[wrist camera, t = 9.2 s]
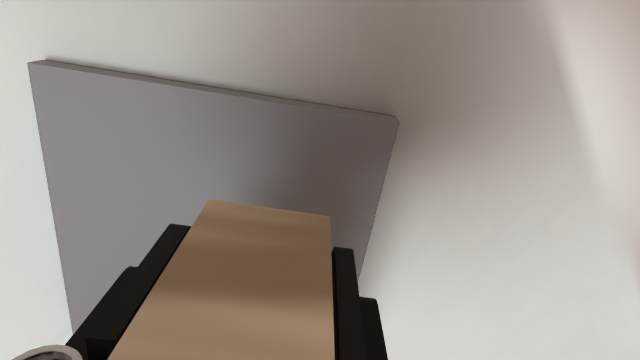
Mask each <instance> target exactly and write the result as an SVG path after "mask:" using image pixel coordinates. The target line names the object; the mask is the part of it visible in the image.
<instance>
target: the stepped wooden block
mask: <svg viewBox="0 0 640 360" xmlns="http://www.w3.org/2000/svg"><path fill="white" fill-rule="evenodd" d="M107 360H335V351H334V320H333V288H332V257H331V226H330V216H324V215H317V214H310V213H303V212H296V211H290V210H283V209H276V208H269V207H262V206H255V205H248V204H241V203H235V202H228V201H221V200H214V199H209V200H208V201H207V203H206V205H205V206H204V208H203V209H202V211H201V213H200V214H199V216H198V217H197V219H196V220H195V222H194V224H193V225H192V227H191V228H190V230H189V231H188V233H187V235H186V236H185V238H184V239H183V241H182V243H181V244H180V246H179V247H178V249H177V250H176V252H175V254H174V255H173V257H172V258H171V260H170V261H169V263H168V265H167V266H166V268H165V269H164V271H163V273H162V274H161V276H160V277H159V279H158V280H157V282H156V284H155V285H154V287H153V288H152V290H151V291H150V293H149V295H148V296H147V298H146V299H145V301H144V303H143V304H142V306H141V307H140V309H139V310H138V312H137V314H136V315H135V317H134V318H133V320H132V322H131V323H130V325H129V326H128V328H127V329H126V331H125V333H124V334H123V336H122V337H121V339H120V340H119V342H118V344H117V345H116V347H115V348H114V350H113V352H112V353H111V355H110V356H109V358H108V359H107Z"/></svg>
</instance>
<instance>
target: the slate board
mask: <svg viewBox="0 0 640 360" xmlns="http://www.w3.org/2000/svg"><path fill="white" fill-rule="evenodd" d="M27 64H28V70H29V76H30V82H31V88H32V94H33V100H34V106H35V112H36V117H37V123H38V129H39V135H40V141H41V147H42V153H43V159H44V165H45V171H46V177H47V183H48V189H49V195H50V201H51V206H52V212H53V218H54V224H55V230H56V236H57V242H58V248H59V254H60V260H61V266H62V272H63V278H64V284H65V290H66V296H67V301H68V307H69V313H70V319H71V325H72V331H73V334H74V333H75V332H76V331H77V329H78V328H79V327H80V325H81V324H82V323H83V322H84V320H85V319H86V318H87V317H88V315H89V314H90V313H91V311H92V310H93V309H94V308H95V306H96V305H97V304H98V303H99V301H100V300H101V299H102V298H103V296H104V295H105V294H106V292H107V291H108V290H109V289H110V287H111V286H112V285H113V284H114V282H115V281H116V280H117V278H118V277H119V276H120V275H121V273H122V272H123V271H124V270H125V269H126V268H127V267H129V266H133V267H138V266H139V264H140V263H141V262H142V260H143V259H144V258H145V256H146V255H147V254H148V252H149V251H150V250H151V248H152V247H153V245H154V244H155V243H156V241H157V240H158V239H159V237H160V236H161V235H162V233H163V232H164V231H165V229H166V228H167V227H168V225H169V224H171V223H172V224H179V225H187V226H191V227H192V225H193V224H194V222H195V220H196V219H197V217H198V216H199V214H200V213H201V211H202V209H203V208H204V206H205V205H206V203H207V201H208V200H209V199H214V200H221V201H228V202H235V203H241V204H248V205H255V206H262V207H269V208H276V209H283V210H290V211H296V212H303V213H310V214H317V215H324V216H330V226H331V251H333V248H334V246H336V247H343V248H350V249H353V251H354V258H355V266H356V274H357V282H358V279H359V276H360V272H361V268H362V264H363V260H364V256H365V252H366V249H367V245H368V241H369V237H370V233H371V229H372V225H373V221H374V218H375V214H376V210H377V206H378V202H379V198H380V194H381V191H382V187H383V183H384V179H385V175H386V171H387V167H388V163H389V160H390V156H391V152H392V148H393V144H394V140H395V136H396V133H397V129H398V125H399V121H398V120H397V118H396V117H395V116H390V115H384V114H378V113H371V112H365V111H359V110H353V109H346V108H340V107H334V106H328V105H322V104H315V103H309V102H303V101H297V100H290V99H284V98H278V97H272V96H266V95H259V94H253V93H247V92H241V91H234V90H228V89H222V88H216V87H210V86H203V85H197V84H191V83H185V82H178V81H172V80H166V79H160V78H154V77H147V76H141V75H135V74H129V73H123V72H116V71H110V70H104V69H98V68H91V67H85V66H79V65H73V64H67V63H60V62H54V61H48V60H40V61H34V62H29V63H27Z"/></svg>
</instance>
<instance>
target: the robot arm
mask: <svg viewBox="0 0 640 360" xmlns="http://www.w3.org/2000/svg"><path fill="white" fill-rule="evenodd" d="M190 228H191V226H187V225H179V224H172V223H171V224H169V225H168V227H167V228H166V229H165V231H164V232H163V233H162V235H161V236H160V237H159V239H158V240H157V241H156V243H155V244H154V245H153V247H152V248H151V250H150V251H149V252H148V254H147V255H146V256H145V258H144V259H143V260H142V262H141V263H140V264H139V266H138V267H133V266H129V267H127V268H126V269H125V270H124V271H123V272H122V273H121V275H120V276H119V277H118V278H117V280H116V281H115V282H114V284H113V285H112V286H111V287H110V289H109V290H108V291H107V292H106V294H105V295H104V296H103V298H102V299H101V300H100V301H99V303H98V304H97V305H96V306H95V308H94V309H93V310H92V311H91V313H90V314H89V315H88V317H87V318H86V319H85V320H84V322H83V323H82V324H81V325H80V327H79V328H78V329H77V331H76V332H75V333H74V334H73V336H72V337H71V338H70V339H69V341H68V342H67V343H66V344H65V346H64V345H49V346H42V347H39V348H36V349H33V350H29V351H27V352H25V353H23V354H21V355H19V356H17V357H15V358H14V359H13V360H107V359H108V358H109V356H110V355H111V353H112V352H113V350H114V348H115V347H116V345H117V344H118V342H119V340H120V339H121V337H122V336H123V334H124V333H125V331H126V329H127V328H128V326H129V325H130V323H131V322H132V320H133V318H134V317H135V315H136V314H137V312H138V310H139V309H140V307H141V306H142V304H143V303H144V301H145V299H146V298H147V296H148V295H149V293H150V291H151V290H152V288H153V287H154V285H155V284H156V282H157V280H158V279H159V277H160V276H161V274H162V273H163V271H164V269H165V268H166V266H167V265H168V263H169V261H170V260H171V258H172V257H173V255H174V254H175V252H176V250H177V249H178V247H179V246H180V244H181V243H182V241H183V239H184V238H185V236H186V235H187V233H188V231H189V230H190ZM331 257H332V288H333V320H334V351H335V360H388V358H387V352H386V347H385V341H384V336H383V331H382V325H381V320H380V314H379V309H378V304H377V301H376V299H373V298H365V297H359V290H358V282H357V274H356V266H355V258H354V251H353V249H350V248H343V247H336V246H334V248H333V251H331Z"/></svg>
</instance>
